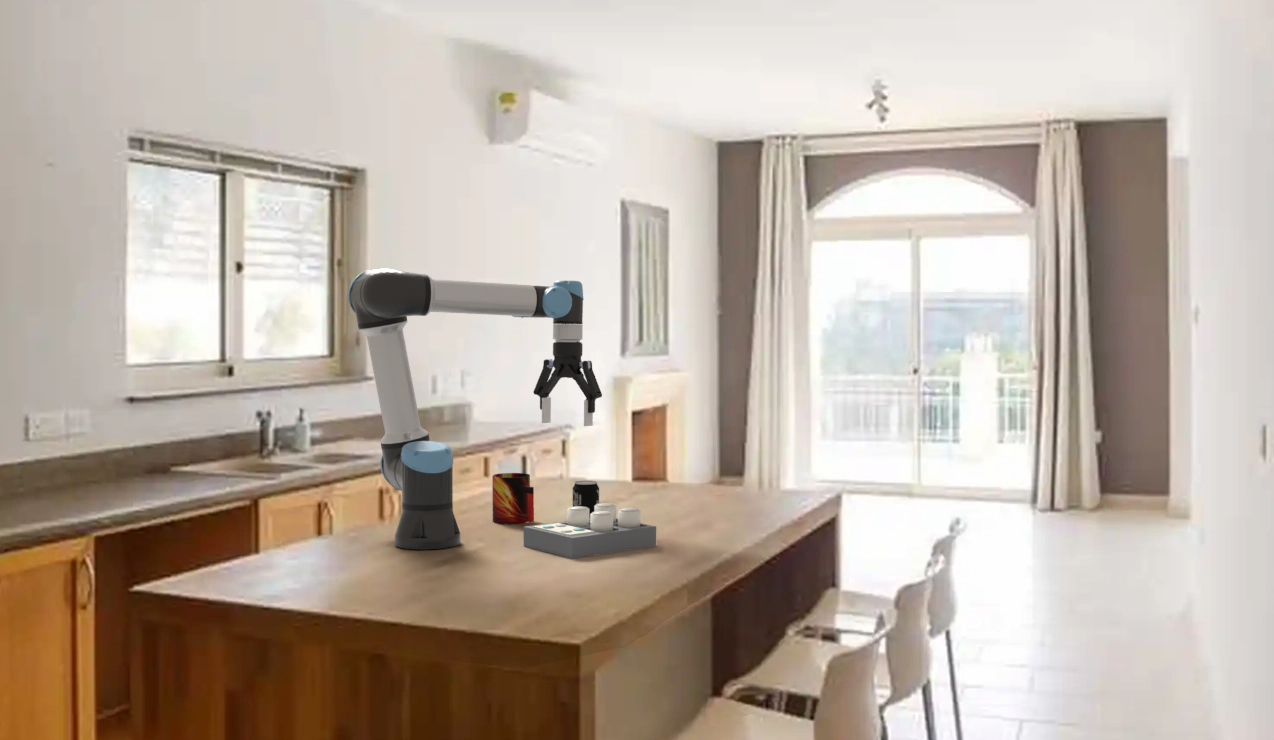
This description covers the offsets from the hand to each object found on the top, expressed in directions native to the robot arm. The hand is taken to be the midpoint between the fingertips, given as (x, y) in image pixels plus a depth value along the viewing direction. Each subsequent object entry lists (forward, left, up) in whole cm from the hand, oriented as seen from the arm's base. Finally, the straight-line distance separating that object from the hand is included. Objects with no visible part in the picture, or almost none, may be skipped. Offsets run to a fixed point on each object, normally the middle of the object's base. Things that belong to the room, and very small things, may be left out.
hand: (566, 424), depth 325 cm
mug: (-9, +9, -26) cm, 29 cm away
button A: (-15, -25, -22) cm, 37 cm away
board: (-15, -30, -25) cm, 42 cm away
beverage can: (-3, -12, -26) cm, 28 cm away
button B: (-7, -25, -22) cm, 34 cm away
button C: (-15, -34, -22) cm, 43 cm away
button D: (-7, -34, -22) cm, 41 cm away
